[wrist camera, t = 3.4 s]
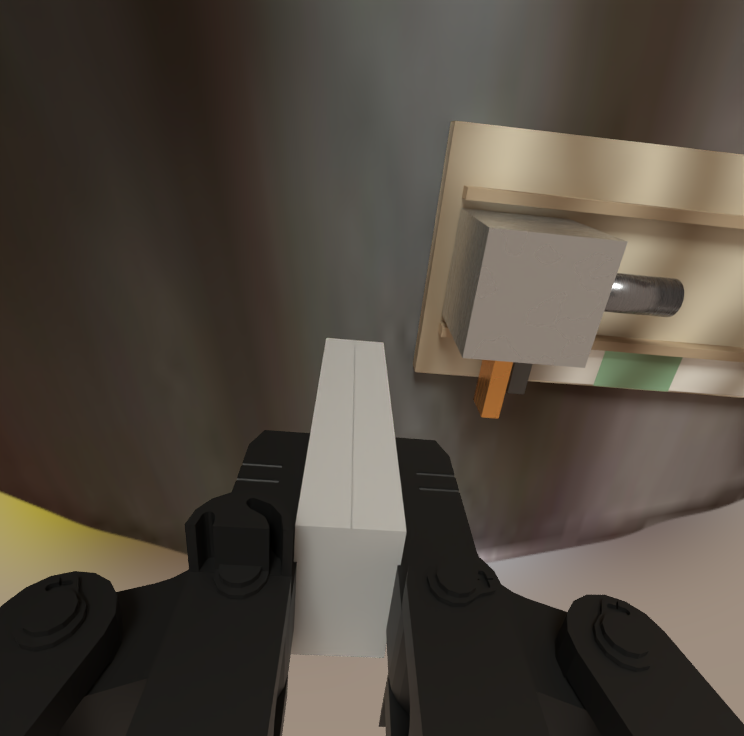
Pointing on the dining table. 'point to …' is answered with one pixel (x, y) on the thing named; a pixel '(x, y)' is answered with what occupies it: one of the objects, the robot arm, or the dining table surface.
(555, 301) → the cube with metal rod
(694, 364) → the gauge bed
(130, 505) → the dining table surface
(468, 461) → the dining table surface
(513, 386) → the dark grey square block
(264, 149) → the dining table surface
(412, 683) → the robot arm
